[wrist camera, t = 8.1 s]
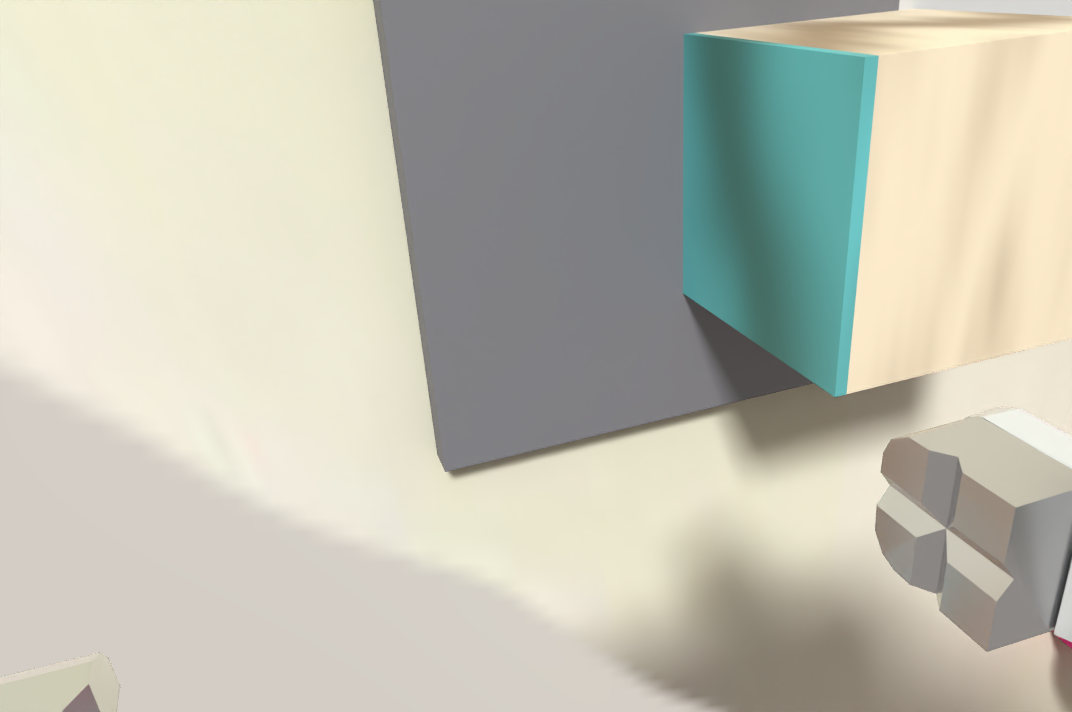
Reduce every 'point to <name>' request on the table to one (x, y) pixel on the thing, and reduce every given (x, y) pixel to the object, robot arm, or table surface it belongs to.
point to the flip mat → (566, 212)
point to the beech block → (882, 189)
